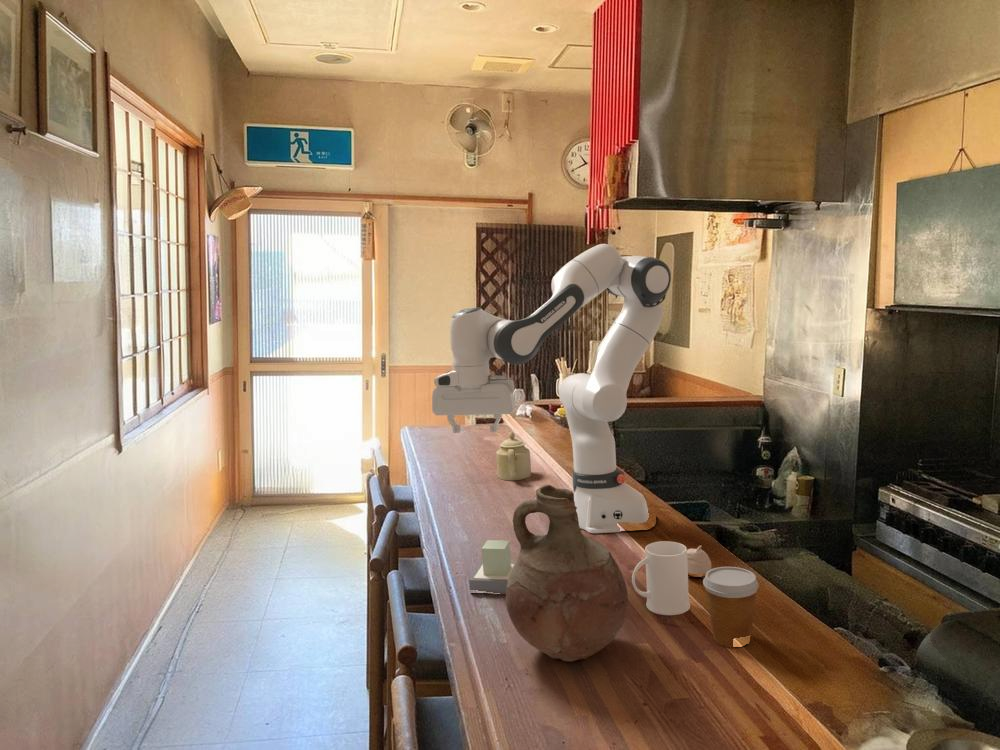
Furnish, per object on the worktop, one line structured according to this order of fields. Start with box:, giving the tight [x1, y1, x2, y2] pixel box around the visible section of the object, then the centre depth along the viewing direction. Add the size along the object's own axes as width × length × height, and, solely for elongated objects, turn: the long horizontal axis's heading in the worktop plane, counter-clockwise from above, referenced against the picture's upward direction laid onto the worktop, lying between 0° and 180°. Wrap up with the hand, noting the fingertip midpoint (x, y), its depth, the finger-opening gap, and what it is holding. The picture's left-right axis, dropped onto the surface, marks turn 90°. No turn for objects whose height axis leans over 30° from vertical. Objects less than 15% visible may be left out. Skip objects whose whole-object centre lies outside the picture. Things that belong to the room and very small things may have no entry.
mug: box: [631, 540, 691, 616], centre depth 154 cm, size 12×8×12 cm
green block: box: [481, 539, 512, 576], centre depth 170 cm, size 5×5×6 cm
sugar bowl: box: [495, 430, 532, 481], centre depth 254 cm, size 15×11×15 cm
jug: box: [505, 484, 629, 662], centre depth 138 cm, size 22×22×30 cm
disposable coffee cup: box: [702, 566, 760, 649], centre depth 139 cm, size 10×10×12 cm
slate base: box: [468, 561, 515, 594], centre depth 171 cm, size 10×10×3 cm
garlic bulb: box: [687, 545, 712, 575], centre depth 168 cm, size 7×6×8 cm
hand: (475, 432), depth 190 cm, fingers open, 8 cm apart
